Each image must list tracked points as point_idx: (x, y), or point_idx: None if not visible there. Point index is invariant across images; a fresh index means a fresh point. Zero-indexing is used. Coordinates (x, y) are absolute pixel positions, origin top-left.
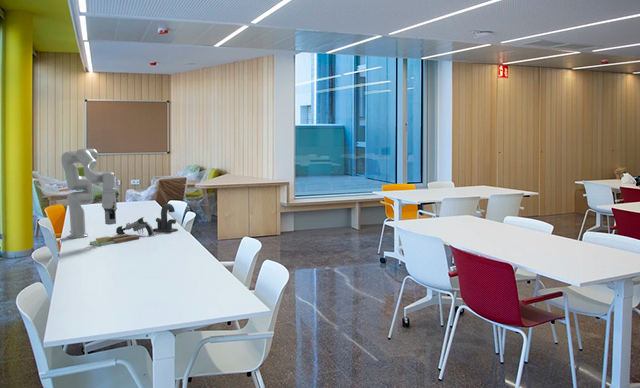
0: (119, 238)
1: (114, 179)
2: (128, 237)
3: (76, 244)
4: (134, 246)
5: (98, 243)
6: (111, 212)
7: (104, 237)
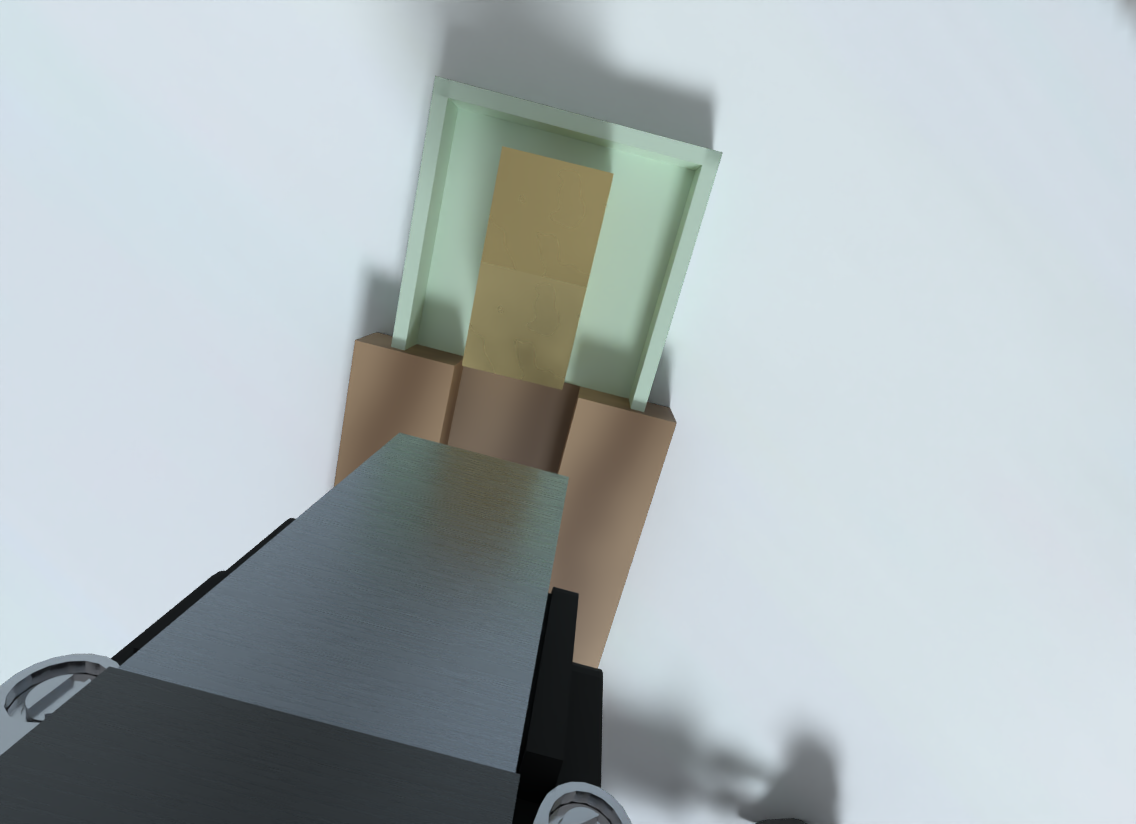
0: None
1: None
2: None
3: (960, 106)
4: (11, 275)
5: (477, 88)
6: (10, 679)
7: (522, 296)
